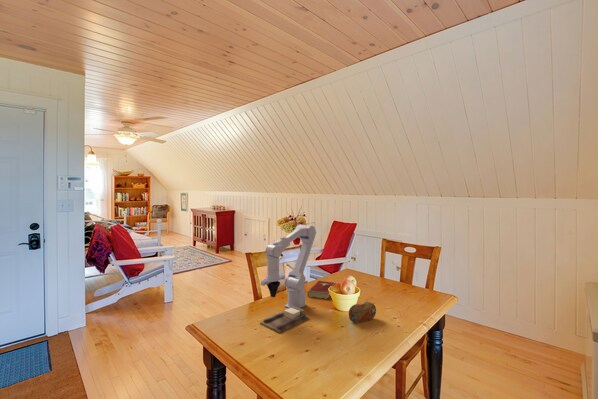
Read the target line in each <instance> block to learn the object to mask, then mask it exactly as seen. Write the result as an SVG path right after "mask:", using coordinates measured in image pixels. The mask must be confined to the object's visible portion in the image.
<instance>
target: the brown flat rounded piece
mask: <svg viewBox="0 0 598 399" xmlns="http://www.w3.org/2000/svg"><path fill="white" fill-rule="evenodd" d="M376 312H377V308H376V305H375V304H374V303H372V302H370V301H365V302H361V303H356V304H353V305H351V306H350V308H349V310H348V318H349V320H350V321H351V322H353V323H354V324H355V325H357V324H361V323H366V322H369V321H372V320H373V319H374V317H375V316H376V314H377V313H376Z"/></svg>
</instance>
